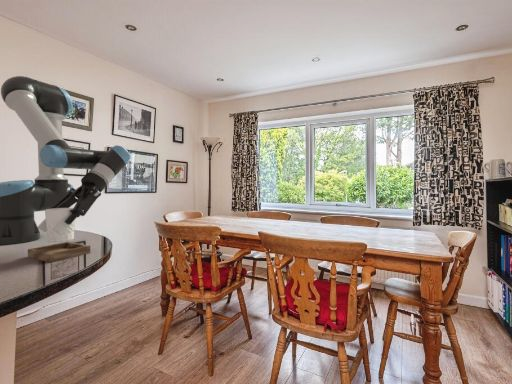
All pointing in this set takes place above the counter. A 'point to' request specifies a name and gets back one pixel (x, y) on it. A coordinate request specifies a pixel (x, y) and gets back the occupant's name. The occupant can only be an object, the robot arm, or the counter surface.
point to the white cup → (53, 219)
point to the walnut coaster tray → (58, 251)
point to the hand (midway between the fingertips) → (49, 230)
